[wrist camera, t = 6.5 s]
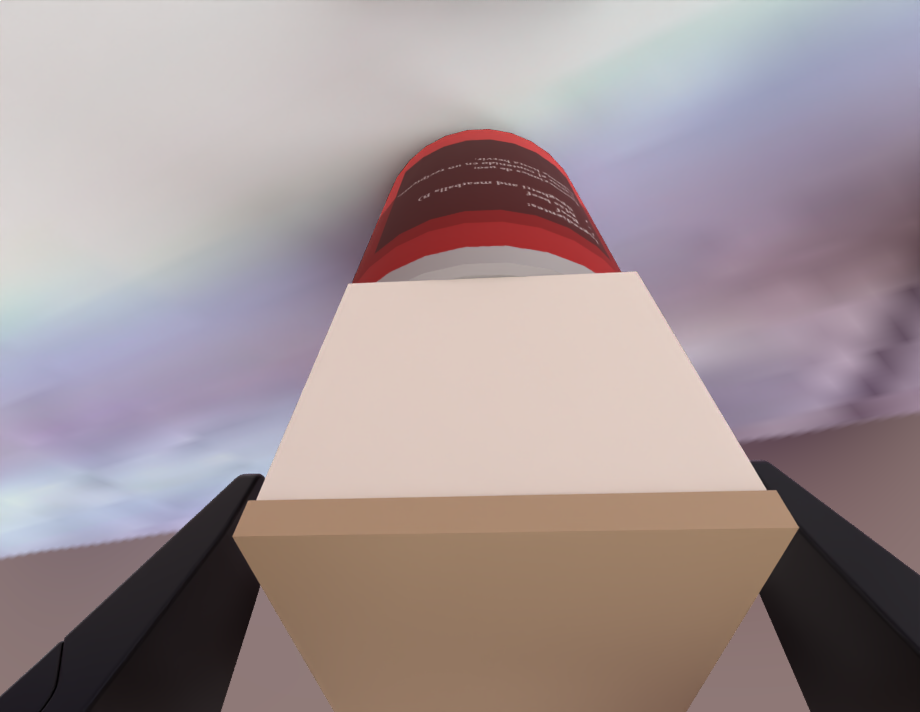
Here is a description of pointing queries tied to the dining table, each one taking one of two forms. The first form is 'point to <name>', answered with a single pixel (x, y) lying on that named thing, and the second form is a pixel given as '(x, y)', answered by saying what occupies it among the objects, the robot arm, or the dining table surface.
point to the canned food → (482, 216)
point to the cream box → (510, 503)
